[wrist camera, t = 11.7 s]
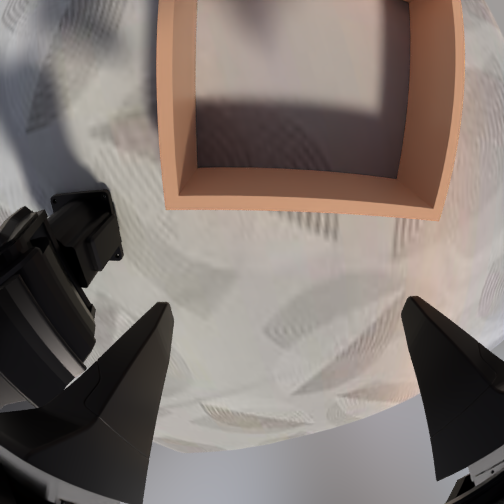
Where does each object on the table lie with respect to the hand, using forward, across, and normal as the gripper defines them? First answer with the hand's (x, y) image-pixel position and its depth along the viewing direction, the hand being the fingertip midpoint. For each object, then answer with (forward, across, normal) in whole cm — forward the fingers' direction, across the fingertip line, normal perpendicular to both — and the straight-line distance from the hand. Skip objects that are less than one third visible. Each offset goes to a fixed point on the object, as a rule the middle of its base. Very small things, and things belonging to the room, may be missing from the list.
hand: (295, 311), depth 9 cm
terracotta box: (+12, -2, -9) cm, 15 cm away
